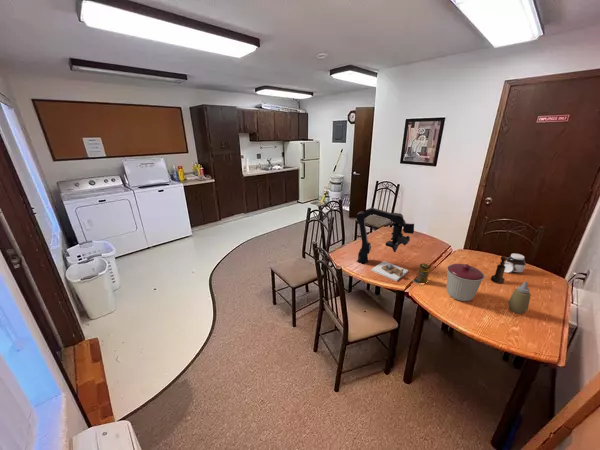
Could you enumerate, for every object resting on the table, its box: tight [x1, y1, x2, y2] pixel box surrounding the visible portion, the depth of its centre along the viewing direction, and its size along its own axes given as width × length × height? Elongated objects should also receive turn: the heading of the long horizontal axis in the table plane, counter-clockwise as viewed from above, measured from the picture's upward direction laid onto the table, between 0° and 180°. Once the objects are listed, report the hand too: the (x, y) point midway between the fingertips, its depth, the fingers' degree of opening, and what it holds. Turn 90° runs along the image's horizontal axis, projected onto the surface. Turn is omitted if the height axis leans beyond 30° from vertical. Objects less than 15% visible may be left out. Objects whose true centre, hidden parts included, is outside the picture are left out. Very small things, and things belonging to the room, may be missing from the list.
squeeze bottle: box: [507, 281, 532, 315], centre depth 127 cm, size 8×8×18 cm
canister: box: [446, 263, 486, 302], centre depth 139 cm, size 18×18×21 cm
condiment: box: [411, 263, 430, 285], centre depth 156 cm, size 7×8×12 cm
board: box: [371, 260, 409, 282], centre depth 170 cm, size 19×17×5 cm
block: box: [382, 265, 403, 278], centre depth 167 cm, size 14×8×3 cm, turn 26°
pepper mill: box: [490, 255, 508, 284], centre depth 153 cm, size 7×6×18 cm
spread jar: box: [504, 253, 527, 274], centre depth 164 cm, size 12×11×12 cm
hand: (394, 251), depth 172 cm, fingers closed
